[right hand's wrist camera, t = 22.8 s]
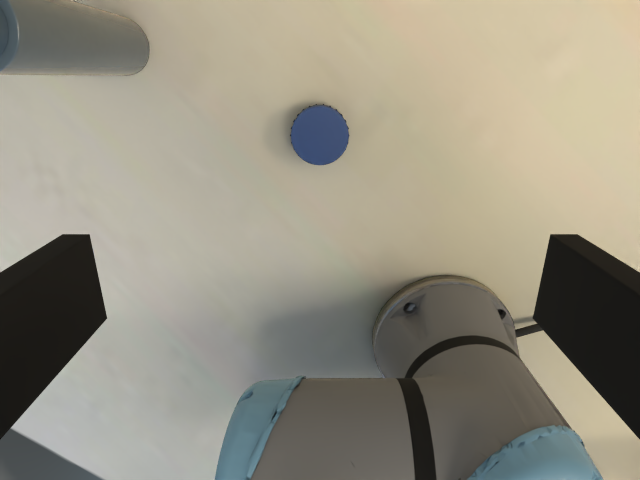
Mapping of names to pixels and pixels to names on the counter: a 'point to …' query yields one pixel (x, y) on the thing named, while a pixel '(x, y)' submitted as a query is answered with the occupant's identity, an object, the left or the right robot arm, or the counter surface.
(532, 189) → the counter surface
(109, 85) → the counter surface
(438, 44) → the counter surface
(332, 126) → the lid
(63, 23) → the grey long cylinder
